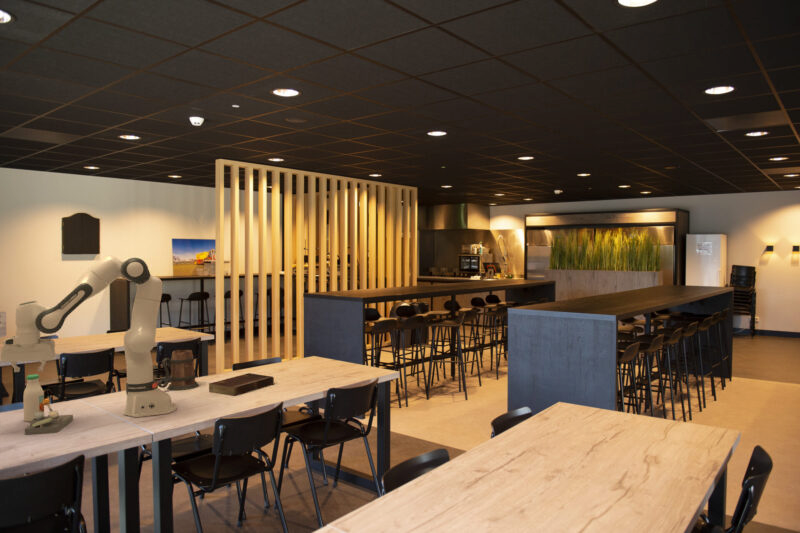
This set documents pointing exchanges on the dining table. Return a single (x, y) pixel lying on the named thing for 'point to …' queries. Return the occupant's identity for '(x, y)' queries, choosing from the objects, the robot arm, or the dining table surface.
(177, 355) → the tankard
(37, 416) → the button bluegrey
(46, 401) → the toggle lever
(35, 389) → the milk bottle
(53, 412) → the button cream
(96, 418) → the dining table surface
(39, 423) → the rocker sage
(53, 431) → the panel
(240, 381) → the dark brown flat block
